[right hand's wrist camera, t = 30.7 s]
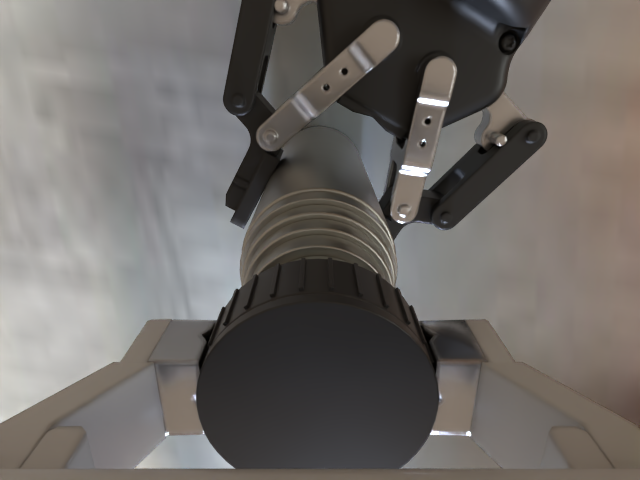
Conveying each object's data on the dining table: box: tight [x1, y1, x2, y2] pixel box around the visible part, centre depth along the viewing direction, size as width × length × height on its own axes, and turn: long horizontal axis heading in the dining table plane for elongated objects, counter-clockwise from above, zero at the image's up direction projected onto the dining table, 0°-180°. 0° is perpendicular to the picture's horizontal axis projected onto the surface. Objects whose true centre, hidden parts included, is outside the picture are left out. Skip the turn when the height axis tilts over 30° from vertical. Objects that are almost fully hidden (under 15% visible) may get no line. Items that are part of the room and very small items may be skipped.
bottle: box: [240, 126, 397, 288], centre depth 18 cm, size 5×5×19 cm
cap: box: [196, 257, 439, 469], centre depth 9 cm, size 5×5×2 cm
